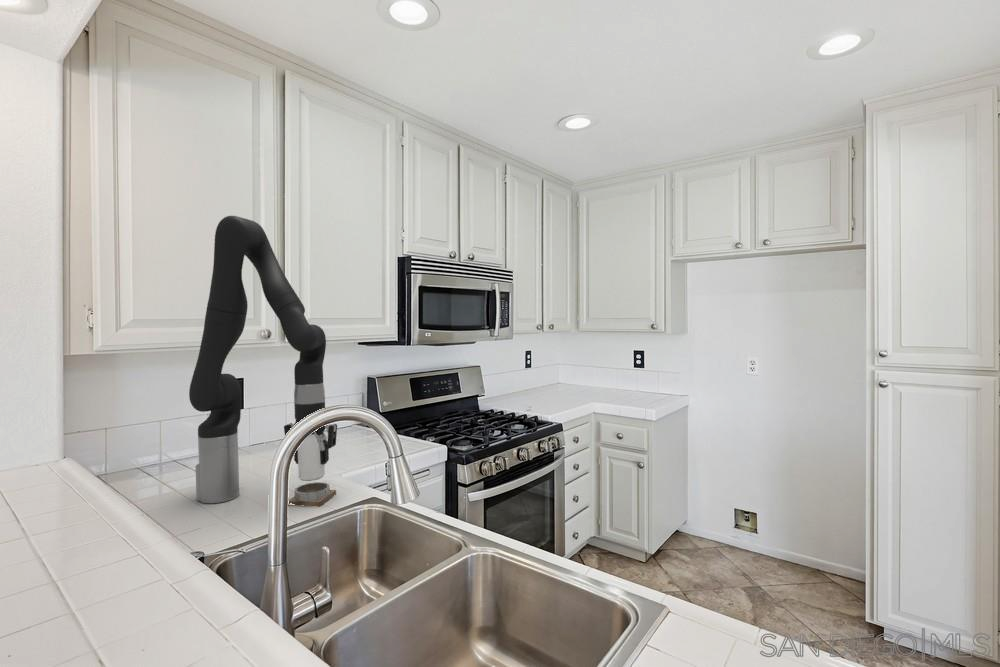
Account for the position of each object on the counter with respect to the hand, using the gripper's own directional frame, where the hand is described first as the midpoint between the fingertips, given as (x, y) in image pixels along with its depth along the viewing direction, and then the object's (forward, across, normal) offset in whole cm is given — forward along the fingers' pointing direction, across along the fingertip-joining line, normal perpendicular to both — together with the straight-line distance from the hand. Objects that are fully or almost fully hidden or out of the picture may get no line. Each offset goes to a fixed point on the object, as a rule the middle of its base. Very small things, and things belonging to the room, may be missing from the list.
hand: (311, 463), depth 128 cm
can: (+4, 0, 0) cm, 4 cm away
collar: (+9, 0, 0) cm, 9 cm away
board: (+10, 0, 0) cm, 10 cm away
